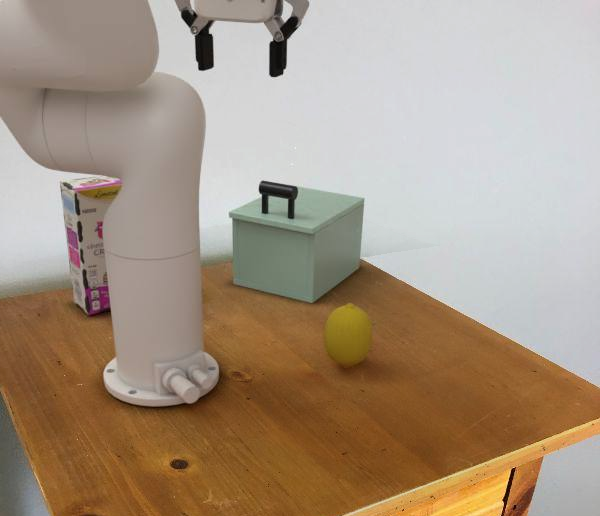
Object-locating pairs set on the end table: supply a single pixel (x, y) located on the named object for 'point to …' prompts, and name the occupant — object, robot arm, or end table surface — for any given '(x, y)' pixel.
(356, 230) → the green box
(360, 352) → the lemon
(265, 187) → the lid
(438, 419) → the end table surface
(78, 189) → the candy bar box
